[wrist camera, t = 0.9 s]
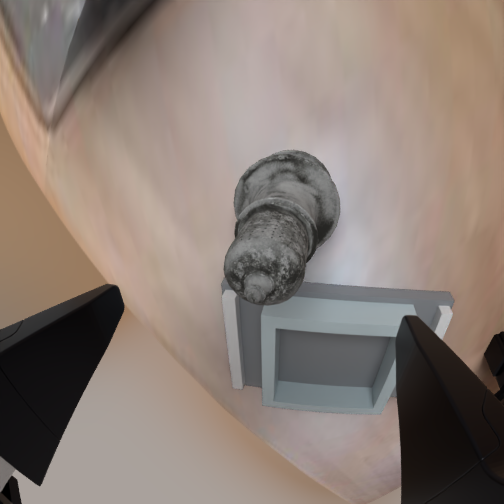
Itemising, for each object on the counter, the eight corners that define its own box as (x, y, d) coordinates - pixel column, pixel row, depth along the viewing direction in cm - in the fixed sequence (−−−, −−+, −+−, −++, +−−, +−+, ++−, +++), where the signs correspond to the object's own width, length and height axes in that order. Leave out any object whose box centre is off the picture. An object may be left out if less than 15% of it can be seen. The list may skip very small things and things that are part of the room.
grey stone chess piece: (248, 143, 19) (151, 202, 8) (341, 149, 17) (368, 220, 7) (248, 226, 21) (176, 350, 11) (332, 235, 20) (332, 375, 10)
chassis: (449, 291, 20) (464, 321, 17) (408, 387, 25) (412, 416, 22) (225, 275, 24) (210, 303, 20) (235, 374, 29) (225, 402, 26)
